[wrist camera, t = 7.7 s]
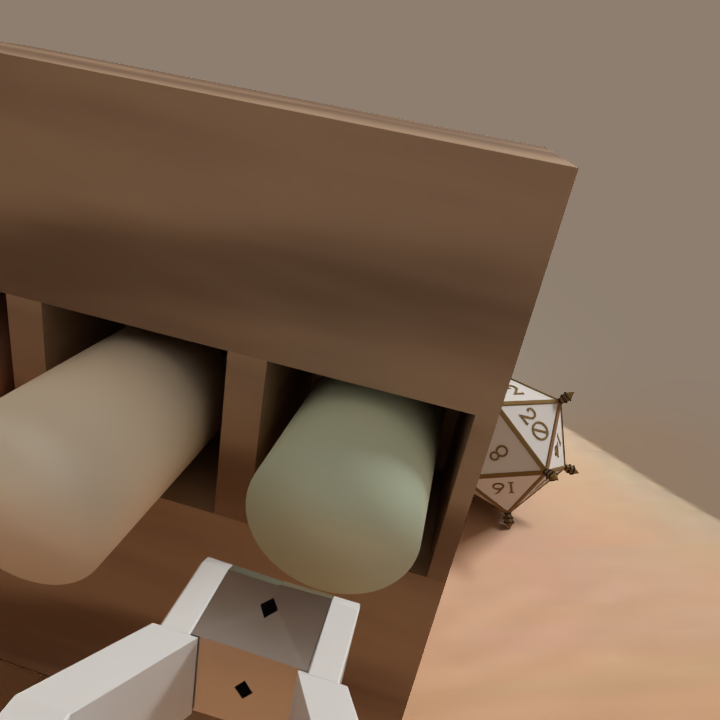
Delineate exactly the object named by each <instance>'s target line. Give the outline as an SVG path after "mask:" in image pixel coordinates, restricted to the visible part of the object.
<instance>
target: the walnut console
mask: <svg viewBox="0 0 720 720" xmlns="http://www.w3.org/2000/svg"><path fill="white" fill-rule="evenodd" d="M577 171H578V167H576V166H575V165H573V164H571V163H570V162H568V161H566V160H565V159H563V158H562V157H560V156H558V155H557V154H555V153H554V152H552V151H551V150H549V149H547V148H546V147H542V146H536V145H531V144H526V143H521V142H515V141H511V140H506V139H500V138H495V137H490V136H485V135H480V134H475V133H469V132H464V131H460V130H455V129H450V128H445V127H439V126H434V125H429V124H424V123H419V122H414V121H409V120H404V119H399V118H393V117H388V116H383V115H378V114H373V113H368V112H363V111H358V110H352V109H347V108H342V107H337V106H332V105H327V104H321V103H316V102H312V101H307V100H302V99H297V98H291V97H286V96H281V95H276V94H271V93H266V92H261V91H256V90H251V89H245V88H240V87H235V86H230V85H225V84H220V83H215V82H210V81H204V80H199V79H194V78H189V77H184V76H179V75H174V74H169V73H164V72H159V71H154V70H149V69H143V68H138V67H133V66H128V65H123V64H117V63H113V62H108V61H103V60H97V59H92V58H87V57H82V56H76V55H71V54H67V53H62V52H57V51H52V50H46V49H41V48H36V47H31V46H25V45H18V44H12V43H5V42H0V292H2V293H6V300H7V311H8V321H9V332H10V342H11V353H12V363H13V374H14V384H15V389H17V388H18V387H20V386H22V385H24V384H25V383H27V382H29V381H31V380H33V379H34V378H36V377H38V376H40V375H41V374H43V373H45V372H47V371H48V370H50V369H52V368H54V367H56V366H57V365H59V364H61V363H63V362H64V361H66V360H68V359H70V358H71V357H73V356H75V355H77V354H79V353H80V352H82V351H84V350H86V349H87V348H89V347H91V346H93V345H94V344H96V343H98V342H100V341H102V340H103V339H105V338H107V337H109V336H110V335H112V334H114V333H116V332H117V331H119V330H121V329H123V328H124V327H126V326H128V325H129V326H133V327H137V328H141V329H145V330H149V331H153V332H156V333H160V334H164V335H168V336H172V337H176V338H180V339H183V340H187V341H191V342H195V343H199V344H203V345H207V346H210V347H214V348H217V349H218V350H219V351H220V353H221V354H222V356H223V357H224V359H225V361H226V362H227V364H226V377H225V389H224V401H223V413H222V426H221V429H220V430H219V431H218V432H217V433H216V434H215V436H214V437H213V438H212V439H211V440H210V441H209V442H208V443H207V445H206V446H205V447H204V448H203V449H202V450H201V451H200V452H199V454H198V455H197V456H196V457H195V458H194V459H193V460H192V462H191V463H190V464H189V465H188V466H187V467H186V468H185V469H184V471H183V472H182V473H181V474H180V475H179V476H178V477H177V478H176V480H175V481H174V482H173V483H172V484H171V485H170V486H169V487H168V489H167V490H166V491H165V492H164V493H163V494H162V495H161V497H160V498H159V499H158V500H157V501H156V502H155V503H154V504H153V506H152V507H151V508H150V509H149V510H148V511H147V512H146V513H145V515H144V516H143V517H142V518H141V519H140V520H139V521H138V522H137V524H136V525H135V526H134V527H133V528H132V529H131V530H130V531H129V533H128V534H127V535H126V536H125V537H124V538H123V539H122V541H121V542H120V543H119V544H118V545H117V546H116V547H115V548H114V550H113V551H112V552H111V553H110V554H109V555H108V556H107V557H106V559H105V560H104V561H103V562H102V563H101V564H100V565H99V566H98V568H97V569H96V570H95V571H94V572H92V573H91V574H90V575H89V576H87V577H85V578H84V579H82V580H79V581H77V582H74V583H69V584H62V585H48V584H41V583H35V582H32V581H28V580H24V579H22V578H19V577H17V576H14V575H12V574H10V573H8V572H6V571H4V570H2V569H0V659H2V660H5V661H8V662H11V663H13V664H16V665H19V666H22V667H25V668H28V669H30V670H33V671H36V672H39V673H42V674H45V675H48V676H52V675H54V674H56V673H58V672H60V671H62V670H64V669H66V668H68V667H69V666H71V665H73V664H75V663H77V662H79V661H81V660H83V659H85V658H87V657H88V656H90V655H92V654H94V653H96V652H98V651H100V650H102V649H104V648H106V647H107V646H109V645H111V644H113V643H115V642H117V641H119V640H121V639H123V638H125V637H126V636H128V635H130V634H132V633H134V632H136V631H138V630H140V629H142V628H144V627H145V626H147V625H149V624H151V623H155V624H159V625H161V623H162V622H163V620H164V619H165V617H166V616H167V614H168V613H169V611H170V610H171V608H172V606H173V605H174V603H175V602H176V600H177V599H178V597H179V596H180V594H181V593H182V591H183V590H184V588H185V587H186V585H187V584H188V582H189V581H190V579H191V578H192V576H193V575H194V573H195V572H196V570H197V569H198V567H199V566H200V564H201V563H202V562H203V561H204V560H205V559H206V558H207V557H211V558H214V559H217V560H220V561H223V562H226V563H229V564H232V565H236V566H239V567H242V568H245V569H248V570H251V571H254V572H257V573H259V574H262V575H265V576H268V577H271V578H274V579H277V580H280V581H286V582H289V583H293V584H296V585H300V586H303V587H306V588H310V589H313V590H316V591H320V592H323V593H327V594H330V595H333V596H336V597H339V598H343V599H346V600H349V601H353V602H356V603H359V604H360V610H359V614H358V618H357V622H356V626H355V630H354V634H353V638H352V642H351V646H350V650H349V654H348V658H347V662H346V666H345V671H344V675H343V679H342V682H341V684H342V685H345V686H348V689H349V693H350V696H351V699H352V702H353V705H354V708H355V711H356V714H357V717H358V720H402V717H403V714H404V711H405V708H406V705H407V701H408V698H409V695H410V692H411V689H412V686H413V683H414V680H415V677H416V673H417V670H418V667H419V664H420V661H421V658H422V655H423V652H424V648H425V645H426V642H427V639H428V636H429V633H430V630H431V627H432V623H433V620H434V617H435V614H436V611H437V608H438V605H439V602H440V599H441V595H442V592H443V589H444V586H445V583H446V580H447V577H448V574H449V570H450V567H451V564H452V561H453V558H454V555H455V552H456V549H457V545H458V542H459V539H460V536H461V533H462V530H463V527H464V524H465V521H466V517H467V514H468V511H469V508H470V505H471V502H472V499H473V496H474V492H475V489H476V486H477V483H478V480H479V477H480V474H481V471H482V467H483V464H484V461H485V458H486V455H487V452H488V449H489V446H490V443H491V439H492V436H493V433H494V430H495V427H496V424H497V421H498V418H499V414H500V411H501V408H502V405H503V402H504V399H505V396H506V393H507V390H508V386H509V383H510V380H511V377H512V374H513V371H514V368H515V364H516V361H517V358H518V355H519V352H520V349H521V346H522V342H523V340H524V336H525V333H526V330H527V327H528V324H529V321H530V318H531V315H532V312H533V308H534V305H535V302H536V299H537V296H538V293H539V289H540V286H541V283H542V280H543V277H544V274H545V271H546V268H547V265H548V262H549V258H550V255H551V252H552V249H553V246H554V243H555V240H556V237H557V234H558V230H559V227H560V224H561V221H562V218H563V215H564V211H565V208H566V205H567V202H568V199H569V196H570V193H571V190H572V187H573V184H574V180H575V177H576V174H577ZM321 375H322V376H326V377H330V378H334V379H338V380H342V381H346V382H349V383H353V384H357V385H361V386H365V387H369V388H373V389H376V390H380V391H384V392H388V393H392V394H396V395H400V396H403V397H407V398H411V399H415V400H419V401H423V402H427V403H430V404H434V405H438V406H442V407H445V412H444V418H443V423H442V429H441V434H440V440H439V446H438V451H437V457H436V463H435V468H434V474H433V480H432V485H431V491H430V496H429V502H428V508H427V513H426V519H425V525H424V530H423V536H422V541H421V546H420V551H419V553H418V556H417V558H416V560H415V562H414V564H413V565H412V567H411V568H410V569H409V570H408V572H407V573H406V574H405V575H404V576H402V577H401V578H400V579H399V580H398V581H396V582H394V583H393V584H391V585H389V586H387V587H385V588H383V589H380V590H377V591H373V592H369V593H363V594H338V593H331V592H326V591H323V590H319V589H316V588H313V587H310V586H308V585H306V584H303V583H301V582H299V581H297V580H296V579H294V578H292V577H291V576H289V575H287V574H286V573H285V572H283V571H282V570H281V569H279V568H278V567H277V566H276V565H275V564H274V563H273V562H271V560H270V559H269V558H268V557H267V556H266V555H265V554H264V553H263V551H262V550H261V548H260V547H259V546H258V544H257V542H256V541H255V539H254V537H253V535H252V532H251V530H250V528H249V524H248V520H247V516H246V495H247V490H248V487H249V484H250V482H251V480H252V478H253V476H254V474H255V473H256V471H257V470H258V468H259V467H260V465H261V464H262V462H263V461H264V459H265V458H266V456H267V455H268V454H269V452H270V451H271V449H272V448H273V446H274V445H275V443H276V442H277V440H278V439H279V437H280V436H281V434H282V433H283V431H284V430H285V428H286V427H287V426H288V424H289V423H290V421H291V420H292V418H293V417H294V415H295V414H296V412H297V411H298V409H299V408H300V406H301V405H302V403H303V402H304V400H305V399H306V398H307V396H308V395H309V393H310V392H311V390H312V389H313V387H314V386H315V384H316V383H317V381H318V380H319V378H320V377H321ZM333 598H334V597H333ZM184 720H223V719H220V718H217V717H214V716H210V715H207V714H204V713H201V712H197V711H194V710H192V714H190V715H189V716H188V717H186V718H185V719H184Z"/></svg>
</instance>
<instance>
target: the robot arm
mask: <svg viewBox="0 0 720 720" xmlns="http://www.w3.org/2000/svg"><path fill="white" fill-rule="evenodd" d="M333 597H334V598H333ZM359 610H360V604H359V603H356V602H353V601H349V600H346V599H343V598H339V597H336V596H333V595H330V594H327V593H323V592H320V591H316V590H313V589H310V588H306V587H303V586H300V585H296V584H293V583H289V582H286V581H280V580H277V579H274V578H271V577H268V576H265V575H262V574H259V573H257V572H254V571H251V570H248V569H245V568H242V567H239V566H236V565H232V564H229V563H226V562H223V561H220V560H217V559H214V558H211V557H207V558H206V559H205V560H204V561H203V562H202V563H201V564H200V566H199V567H198V569H197V570H196V572H195V573H194V575H193V576H192V578H191V579H190V581H189V582H188V584H187V585H186V587H185V588H184V590H183V591H182V593H181V594H180V596H179V597H178V599H177V600H176V602H175V603H174V605H173V606H172V608H171V610H170V611H169V613H168V614H167V616H166V617H165V619H164V620H163V622H162V623H161V625H159V624H155V623H151V624H149V625H147V626H145V627H144V628H142V629H140V630H138V631H136V632H134V633H132V634H130V635H128V636H126V637H125V638H123V639H121V640H119V641H117V642H115V643H113V644H111V645H109V646H107V647H106V648H104V649H102V650H100V651H98V652H96V653H94V654H92V655H90V656H88V657H87V658H85V659H83V660H81V661H79V662H77V663H75V664H73V665H71V666H69V667H68V668H66V669H64V670H62V671H60V672H58V673H56V674H54V675H52V676H50V677H49V678H47V679H45V680H43V681H41V682H39V683H37V684H35V685H33V686H31V687H30V688H28V689H26V690H24V691H22V692H20V693H18V694H16V695H15V696H14V697H13V698H12V699H11V701H10V702H9V703H8V704H7V705H6V707H5V708H4V709H3V710H2V711H1V713H0V720H184V719H185V718H186V717H188V716H189V715H190V714H192V710H194V711H197V712H201V713H204V714H207V715H210V716H214V717H217V718H220V719H223V720H358V717H357V714H356V711H355V708H354V705H353V702H352V699H351V696H350V693H349V689H348V686H345V685H342V684H341V682H342V679H343V675H344V671H345V666H346V662H347V658H348V654H349V650H350V646H351V642H352V638H353V634H354V630H355V626H356V622H357V618H358V614H359Z"/></svg>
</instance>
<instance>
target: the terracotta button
mask: <svg viewBox="0 0 720 720" xmlns="http://www.w3.org/2000/svg"><path fill="white" fill-rule="evenodd" d="M13 390H15V384H14V374H13V363H12V353H11V342H10V332H9V321H8V311H7V300H6V293H2V292H0V398H1V397H2V396H4V395H6V394H8V393H10V392H11V391H13Z"/></svg>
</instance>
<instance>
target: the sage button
mask: <svg viewBox="0 0 720 720" xmlns="http://www.w3.org/2000/svg"><path fill="white" fill-rule="evenodd" d="M444 412H445V407H442V406H438V405H434V404H430V403H427V402H423V401H419V400H415V399H411V398H407V397H403V396H400V395H396V394H392V393H388V392H384V391H380V390H376V389H373V388H369V387H365V386H361V385H357V384H353V383H349V382H346V381H342V380H338V379H334V378H330V377H326V376H322V375H321V377H320V378H319V380H318V381H317V383H316V384H315V386H314V387H313V389H312V390H311V392H310V393H309V395H308V396H307V398H306V399H305V400H304V402H303V403H302V405H301V406H300V408H299V409H298V411H297V412H296V414H295V415H294V417H293V418H292V420H291V421H290V423H289V424H288V426H287V427H286V428H285V430H284V431H283V433H282V434H281V436H280V437H279V439H278V440H277V442H276V443H275V445H274V446H273V448H272V449H271V451H270V452H269V454H268V455H267V456H266V458H265V459H264V461H263V462H262V464H261V465H260V467H259V468H258V470H257V471H256V473H255V474H254V476H253V478H252V480H251V482H250V484H249V487H248V490H247V495H246V516H247V520H248V524H249V528H250V530H251V532H252V535H253V537H254V539H255V541H256V542H257V544H258V546H259V547H260V548H261V550H262V551H263V553H264V554H265V555H266V556H267V557H268V558H269V559H270V560H271V562H273V563H274V564H275V565H276V566H277V567H278V568H279V569H281V570H282V571H283V572H285V573H286V574H287V575H289V576H291V577H292V578H294V579H296V580H297V581H299V582H301V583H303V584H306V585H308V586H310V587H313V588H316V589H319V590H323V591H326V592H331V593H338V594H363V593H369V592H373V591H377V590H380V589H383V588H385V587H387V586H389V585H391V584H393V583H394V582H396V581H398V580H399V579H400V578H401V577H402V576H404V575H405V574H406V573H407V572H408V570H409V569H410V568H411V567H412V565H413V564H414V562H415V560H416V558H417V556H418V553H419V551H420V546H421V541H422V536H423V530H424V525H425V519H426V513H427V508H428V502H429V496H430V491H431V485H432V480H433V474H434V468H435V463H436V457H437V451H438V446H439V440H440V434H441V429H442V423H443V418H444Z"/></svg>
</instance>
